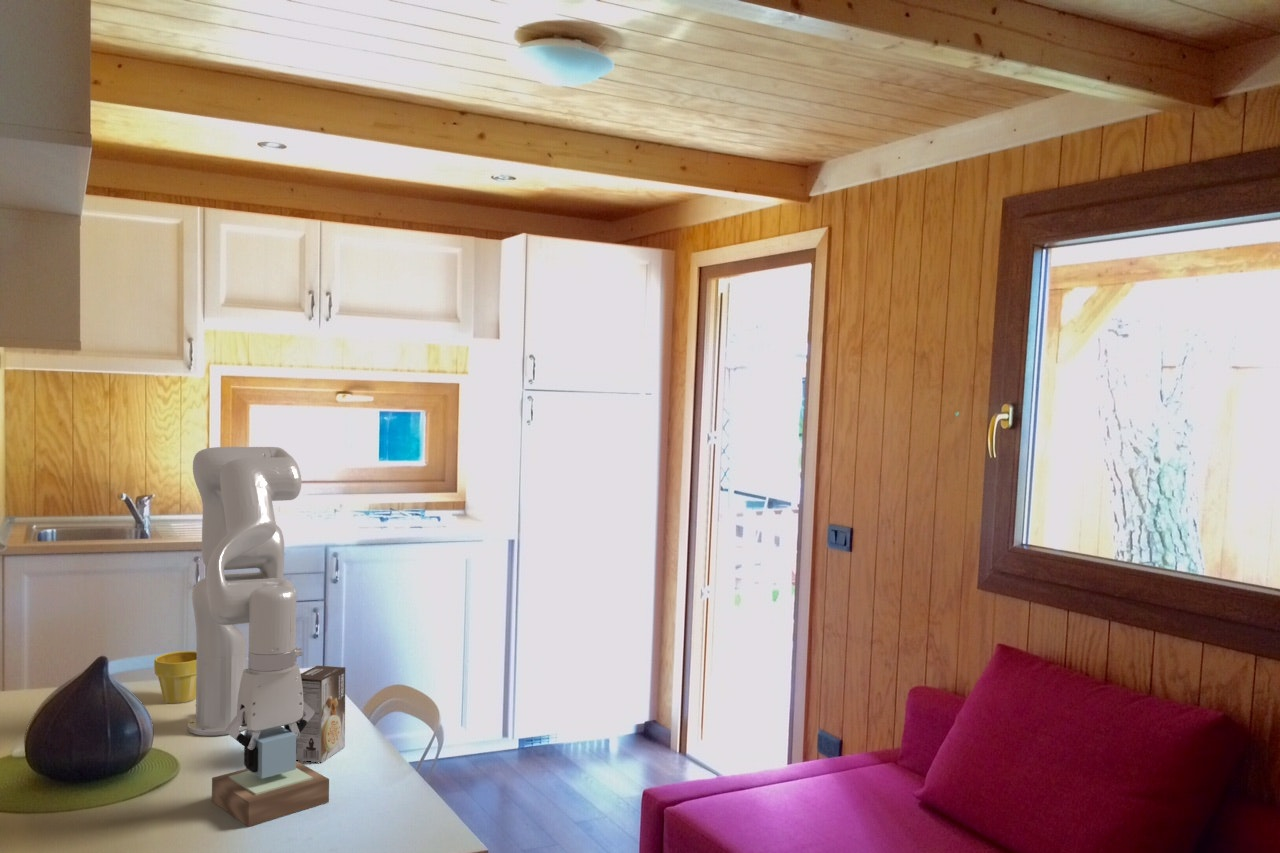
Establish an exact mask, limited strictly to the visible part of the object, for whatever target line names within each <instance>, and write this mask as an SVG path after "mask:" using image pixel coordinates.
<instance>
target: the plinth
mask: <svg viewBox="0 0 1280 853" xmlns="http://www.w3.org/2000/svg"><path fill="white" fill-rule="evenodd" d="M211 801H212V803H214V804H215V805H217V806H218V807H219V808H221V809H223V810H224V811H225V812H227V813H228V814H230V815H231V816H232V817H233V818H235V819H237V820H238V821H239V822H241V823H242V824H244V825H245V826H247V827H248V828H249V827H253V826H256V825H260V824H263V823H266V822H270V821H272V820H276V819H279V818H282V817H285V816H289V815H293V814H294V813H298V812H299V813H300V812H301V811H304V810H308V809H311V808H315V807H318V806H321V804H322V805H324V804H327V802H328V803H329V802H330V778H328V777H326V776H324V775H323V774H321V773H319V772H318V771H316V770H313V769H311V768H310V767H308V766H306V765H305V764H304V763H301V762H300V761H296V770H292V771H288V772H285V773H281V774H277V775H274V776H270V777H267V778H263V779H261V778H260V777H258V776H257V775H255V774H253V773H252V772H250V771H249V770H247V769H246V768H244V769H240V770H236V771H233V772H228V773H225V774H222V775H217V776H214V777H211Z"/></svg>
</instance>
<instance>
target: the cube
mask: <svg viewBox="0 0 1280 853" xmlns="http://www.w3.org/2000/svg"><path fill="white" fill-rule="evenodd" d="M256 748H257V749H258V771H257V772H254V773H253V772H252V771H250V770H249V769H247V768H246V767H245V769H247V770H249V771H250V772H252V773H253V774H255V775H257V776H258V777H260V778H261V779H263V778H267V777H270V776H274V775H277V774H281V773H285V772H288V771H292V770H296V734H294V733H292V732H290V731H289V730H287V729H285V728H284V726H280V727H276V728H272V729H268V730H263V731H261V732H260V735H259V737H258V740H257V743H256Z"/></svg>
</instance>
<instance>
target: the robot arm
mask: <svg viewBox="0 0 1280 853" xmlns="http://www.w3.org/2000/svg"><path fill="white" fill-rule="evenodd" d="M192 474H193V479H194V482H195V485H196V488H197V490H198V493H199V496H200V498H201V503H202V524H201V525H202V526H201V559H202V561H203V564H204V566H205V567H206V577H204V578H202V579H200V580H199V581H197V582H196V584H194V587H193V589H192V594H191V596H192V597H191V599H192V600H191V601H192V608H193V613H194V619H195V621H194V622H195V631H196V632H195V633H196V634H195V635H196V654H197V659H196V698H195V717H194V718H192V719H190V720H189V721H188V723H187V731H188V732H189V733H190V734H194V735H197V736H205V737H206V736H207V737H209V736H210V737H211V736H214V737H215V736H224V735H229V736H230V737H231V738H233V739H234V740H236V741H237V742H239V744H240V745H242V746H243V748H244V750H243V751H244V752H243V753H244V754H243V756H244V757H243V764H244V767H245V769H246V768H247V769H249V770H250V771H252V772H253V773H254V772H257V771H258V749H257V748H256V743H257V740H258V737H259V735H260V732H261V731H263V730H268V729H272V728H276V727H280V726H281V727H283V728H285V729H287V730H289V731H290V732H292V733H294V734H296V754H297V738H299V736H300V732H301V731H302V730H303V729H304V727H305V726H306V725H307V722H308V721H309V720H310V719H311V718H312V716H313V715H314V714H315V711H314V710H313V709H312V708H311V707H310V706H308V705H307V704H306V703H305V702H304V701H303V687H302V680H301V671H300V666H299V664H298V663H297V658H299V657H302V656H303V654H304V653H303V649H302V647H300V648H297V647H296V644H297V642H296V641H297V599H298V598H297V590H296V587H295V585H293V584H292V582H291V581H290V580H288V579H287V578H284V572H285V571H284V569H285V539H284V535H283V532H282V529H281V528H280V527H279V525H278V524H277V523H276V522H277V521H276V517H275V511H274V506H273V502H274V501H275V502H278V501H281V502H282V501H292V500H295V499H296V498H298V496H299V494H300V492H301V490H302V474H301V471H300V467H299V465H298V463H297V461H296V460H295V459H294V457H293V456H292V455H291V454H289V453H288V452H287V451H286V450H285V449H283V448H282V447H276V446H217V447H209V448H208V447H207V448H204V449H201V450H199V451H197V453H195V455H194V456H193V460H192ZM245 569H258V570H259V571H258V572H249V573H248V572H247V573H245V572H244V573H231V574H230V573H229V574H228V573H227V574H225V571H230V570H245ZM245 624H248V655H247V641H246V640H247V639H246V638H245V636H244V634H243V633H242V631H240V629H238V627H236V626H235V625H245ZM247 656H248V665H247ZM247 666H248V667H247ZM242 731H244V733H241V732H242Z"/></svg>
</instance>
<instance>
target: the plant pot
mask: <svg viewBox="0 0 1280 853" xmlns="http://www.w3.org/2000/svg"><path fill="white" fill-rule="evenodd" d="M196 652H197V650H196V651H195V650H184V651H183V650H182V651H173V652H167V653H164V654H160V655H158V656H156V657H155V658H154V662H153V664H154V666H153V667H154V675H156V677H158V682H159V686H160V690H161V694H162V699H163V702H164V703H167V704H174V705H175V704H184V703H188V702H191V701H193V700H196V659H197V654H196Z"/></svg>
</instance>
